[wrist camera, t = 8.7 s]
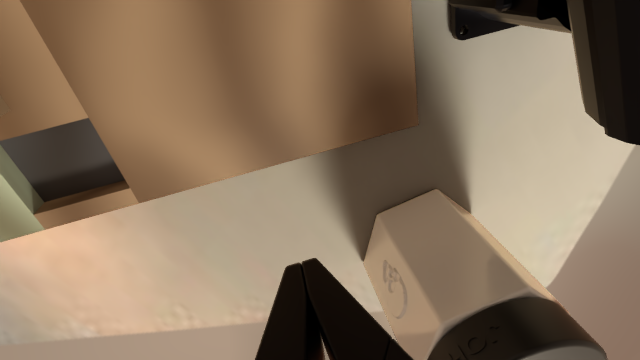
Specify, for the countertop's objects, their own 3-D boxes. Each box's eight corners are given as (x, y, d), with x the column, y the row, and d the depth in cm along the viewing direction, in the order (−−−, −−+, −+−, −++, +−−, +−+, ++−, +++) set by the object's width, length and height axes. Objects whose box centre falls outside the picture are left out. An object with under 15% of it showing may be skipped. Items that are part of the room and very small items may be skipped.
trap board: (376, -285, 13) (426, -379, 10) (407, 116, 21) (440, 142, 18) (-362, -141, 11) (-619, -192, 8) (-15, 233, 20) (-68, 287, 16)
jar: (380, 185, 23) (490, 343, 13) (484, 189, 25) (649, 330, 15) (353, 284, 28) (421, 464, 17) (445, 281, 30) (554, 440, 19)
